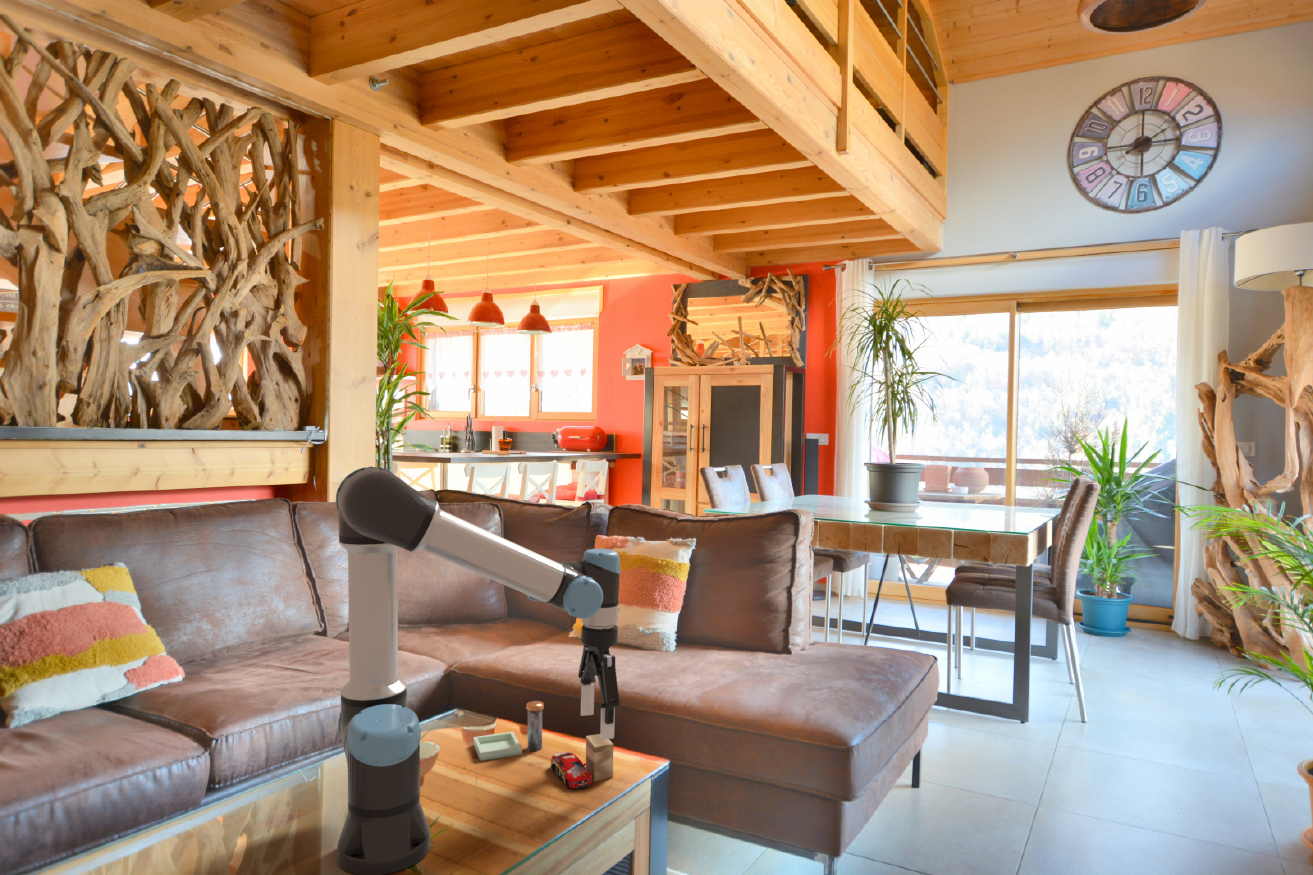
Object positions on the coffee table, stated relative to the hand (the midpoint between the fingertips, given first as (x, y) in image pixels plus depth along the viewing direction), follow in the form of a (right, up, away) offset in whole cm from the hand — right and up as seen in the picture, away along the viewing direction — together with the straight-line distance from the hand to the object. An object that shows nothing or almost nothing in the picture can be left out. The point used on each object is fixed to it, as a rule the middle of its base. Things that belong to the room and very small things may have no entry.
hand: (596, 726), depth 171 cm
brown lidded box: (+1, -10, +1) cm, 10 cm away
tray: (-23, -9, +12) cm, 27 cm away
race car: (-5, -11, -1) cm, 12 cm away
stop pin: (-15, -9, +13) cm, 22 cm away
